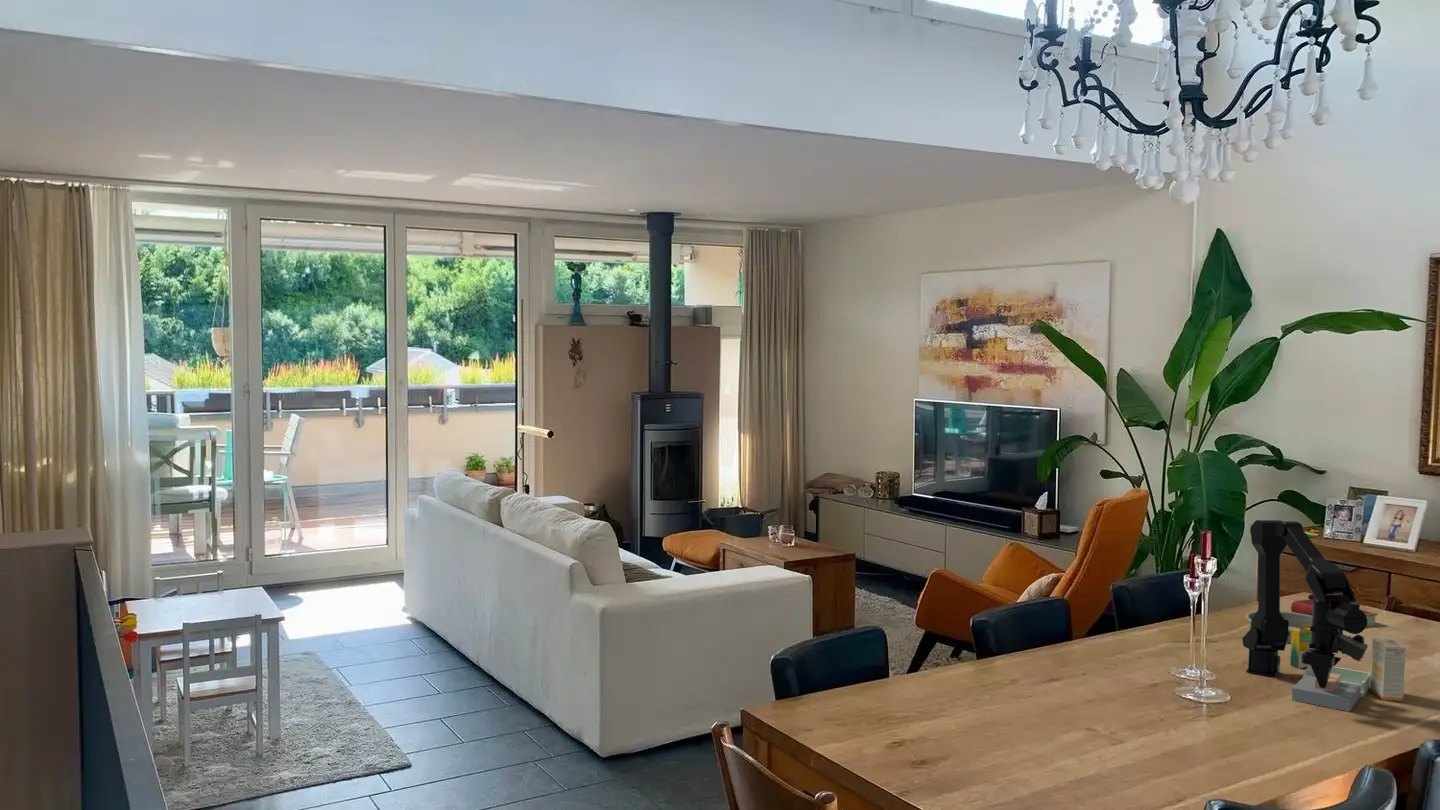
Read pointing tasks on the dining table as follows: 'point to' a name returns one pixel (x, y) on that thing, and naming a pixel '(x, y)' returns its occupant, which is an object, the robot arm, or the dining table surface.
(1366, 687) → the box
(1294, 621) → the cake pan
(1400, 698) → the supplement box
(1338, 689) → the grey base plate
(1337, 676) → the tile
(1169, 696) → the dining table surface
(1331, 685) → the tile
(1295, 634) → the crayon box
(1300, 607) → the hardcover book
